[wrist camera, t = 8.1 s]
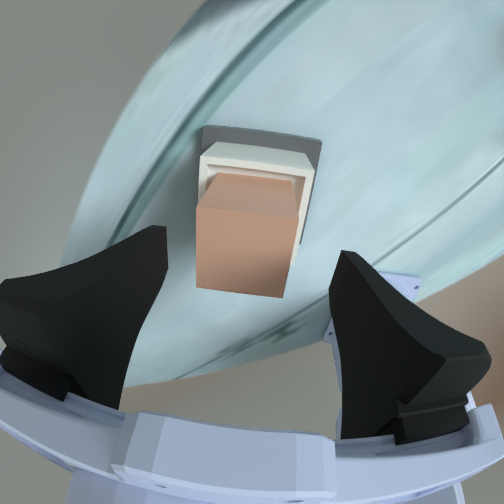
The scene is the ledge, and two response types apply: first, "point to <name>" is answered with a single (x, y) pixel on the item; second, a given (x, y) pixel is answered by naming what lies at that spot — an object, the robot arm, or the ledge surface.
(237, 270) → the terracotta brick
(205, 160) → the tower base
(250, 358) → the ledge surface
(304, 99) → the ledge surface
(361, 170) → the ledge surface
